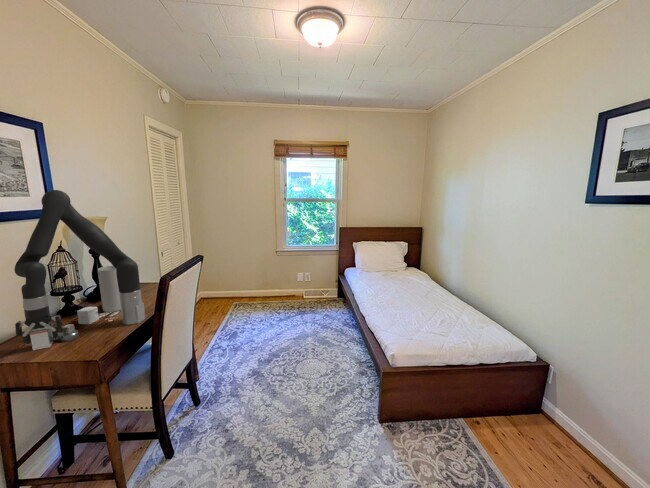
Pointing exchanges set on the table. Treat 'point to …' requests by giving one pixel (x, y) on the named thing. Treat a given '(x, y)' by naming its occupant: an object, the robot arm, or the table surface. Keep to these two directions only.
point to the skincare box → (87, 315)
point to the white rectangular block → (41, 338)
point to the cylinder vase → (109, 289)
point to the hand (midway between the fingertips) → (41, 340)
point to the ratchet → (66, 333)
